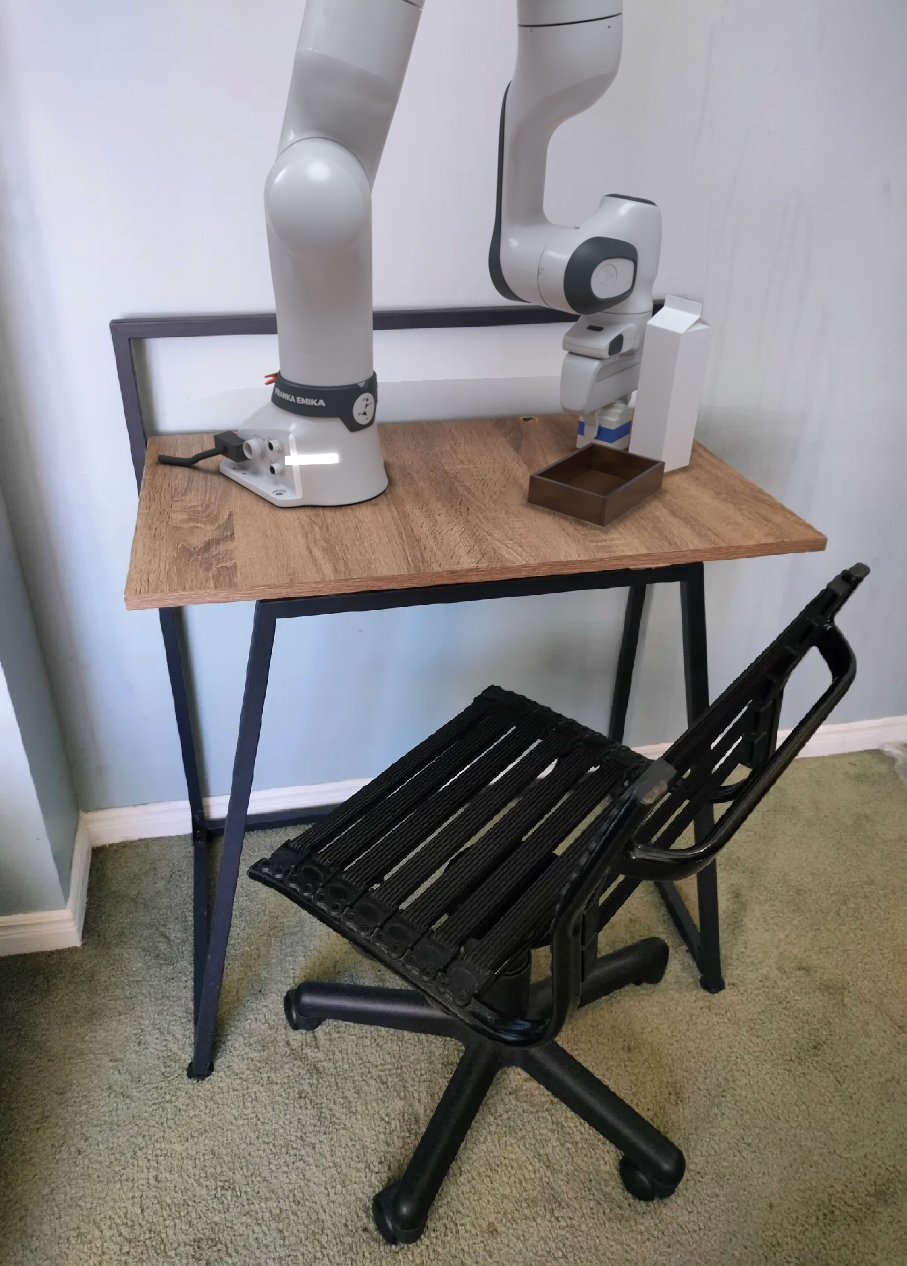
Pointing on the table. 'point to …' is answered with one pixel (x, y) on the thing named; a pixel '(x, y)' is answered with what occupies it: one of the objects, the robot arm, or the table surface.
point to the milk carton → (609, 427)
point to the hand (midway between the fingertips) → (603, 429)
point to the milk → (671, 383)
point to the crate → (596, 483)
